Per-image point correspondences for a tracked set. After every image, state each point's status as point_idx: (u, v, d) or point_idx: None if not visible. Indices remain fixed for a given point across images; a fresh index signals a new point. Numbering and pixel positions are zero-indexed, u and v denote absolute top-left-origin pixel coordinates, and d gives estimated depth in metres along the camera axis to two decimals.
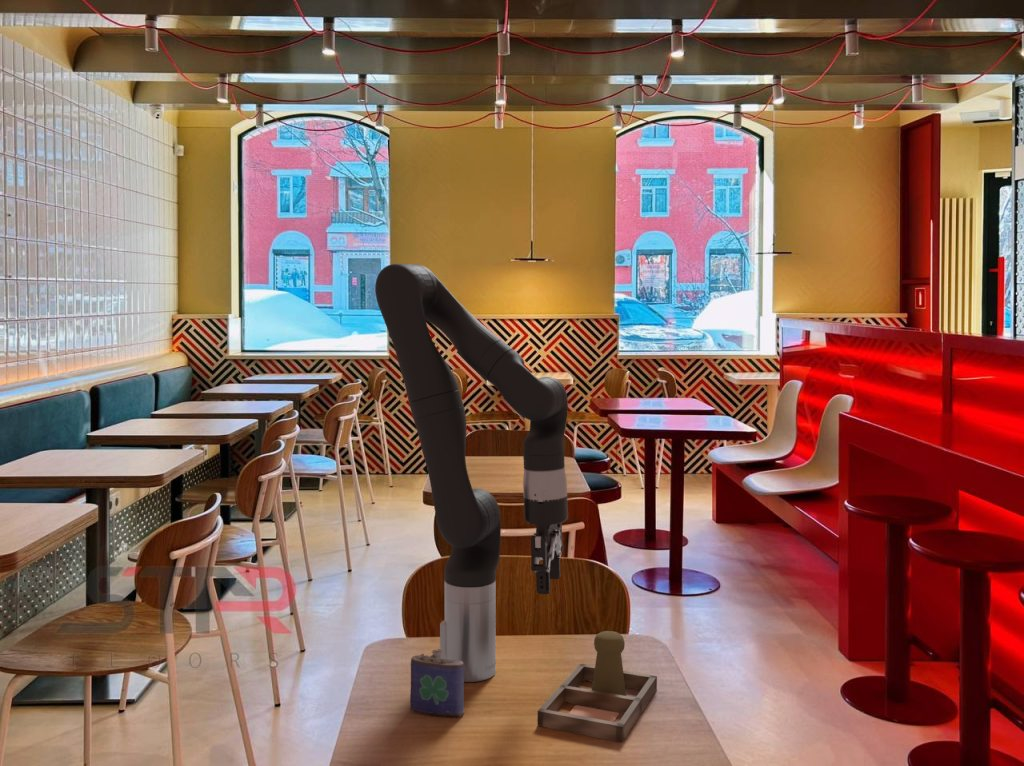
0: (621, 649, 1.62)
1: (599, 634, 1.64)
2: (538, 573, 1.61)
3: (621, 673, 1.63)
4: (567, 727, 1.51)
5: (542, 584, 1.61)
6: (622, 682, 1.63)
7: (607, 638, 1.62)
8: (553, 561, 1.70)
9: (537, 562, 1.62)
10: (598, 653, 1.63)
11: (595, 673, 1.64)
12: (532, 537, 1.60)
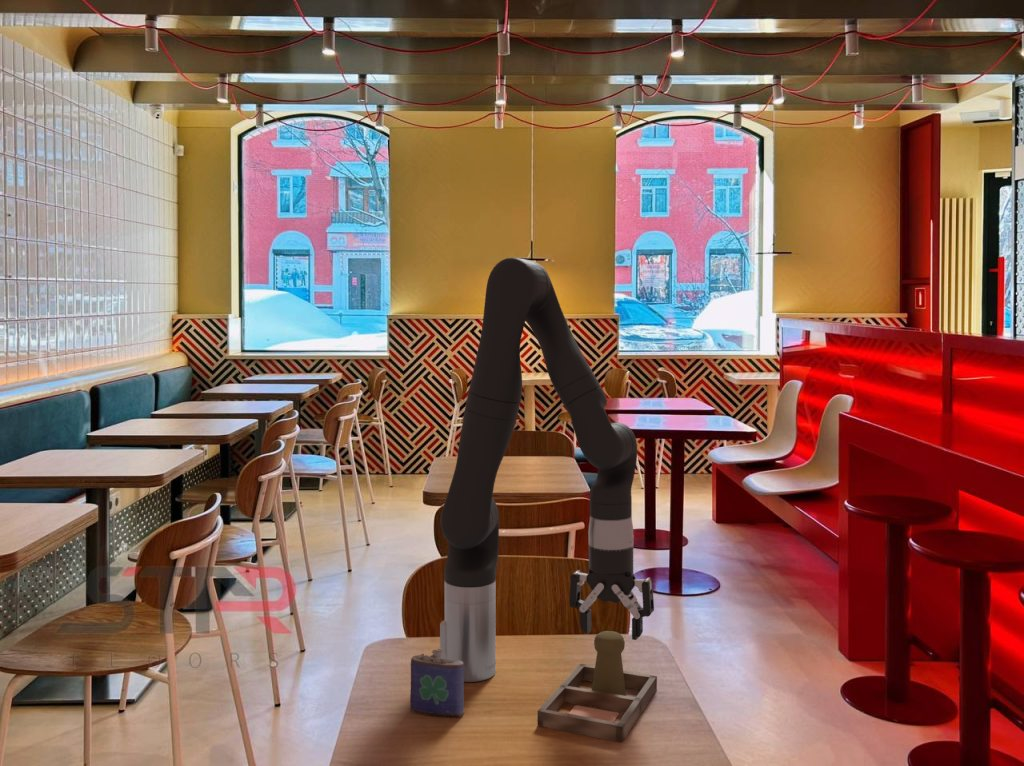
0: (621, 649, 1.62)
1: (599, 634, 1.64)
2: (641, 618, 1.61)
3: (621, 673, 1.63)
4: (567, 727, 1.51)
5: (641, 628, 1.62)
6: (622, 682, 1.63)
7: (607, 638, 1.62)
8: (589, 614, 1.65)
9: (636, 608, 1.61)
10: (598, 653, 1.63)
11: (595, 673, 1.64)
12: (647, 582, 1.59)
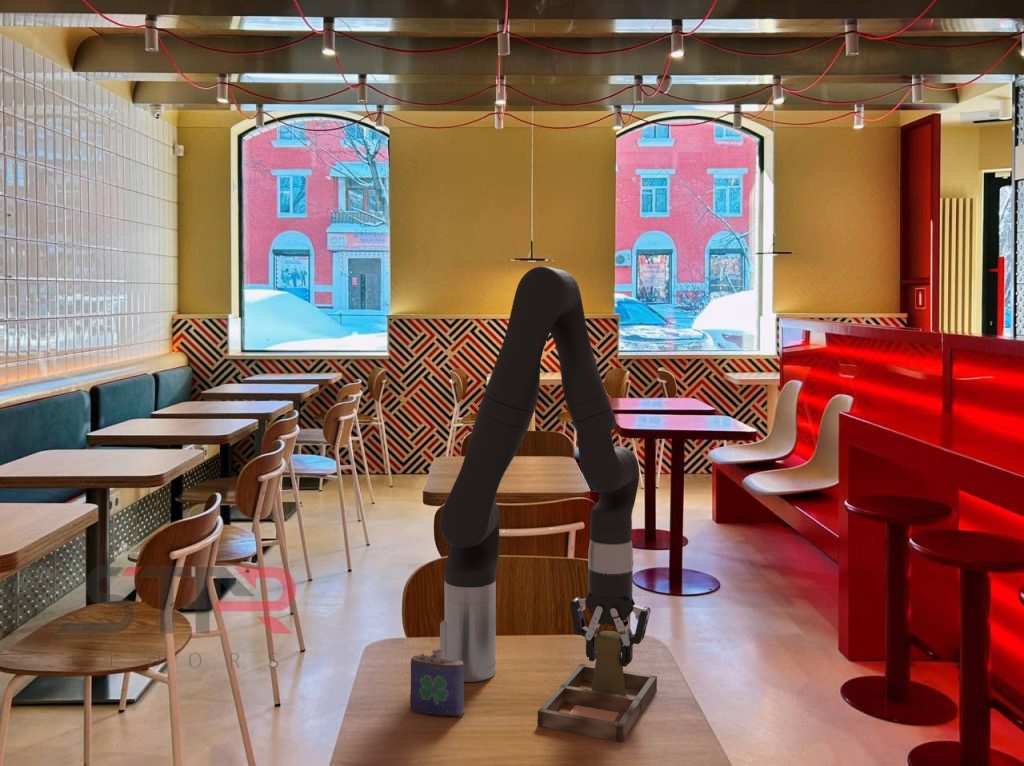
0: (621, 649, 1.62)
1: (599, 634, 1.64)
2: (631, 645, 1.62)
3: (621, 673, 1.63)
4: (567, 727, 1.51)
5: (631, 655, 1.62)
6: (622, 682, 1.63)
7: (607, 638, 1.62)
8: None
9: (628, 636, 1.61)
10: (598, 653, 1.63)
11: (595, 673, 1.64)
12: (646, 612, 1.60)
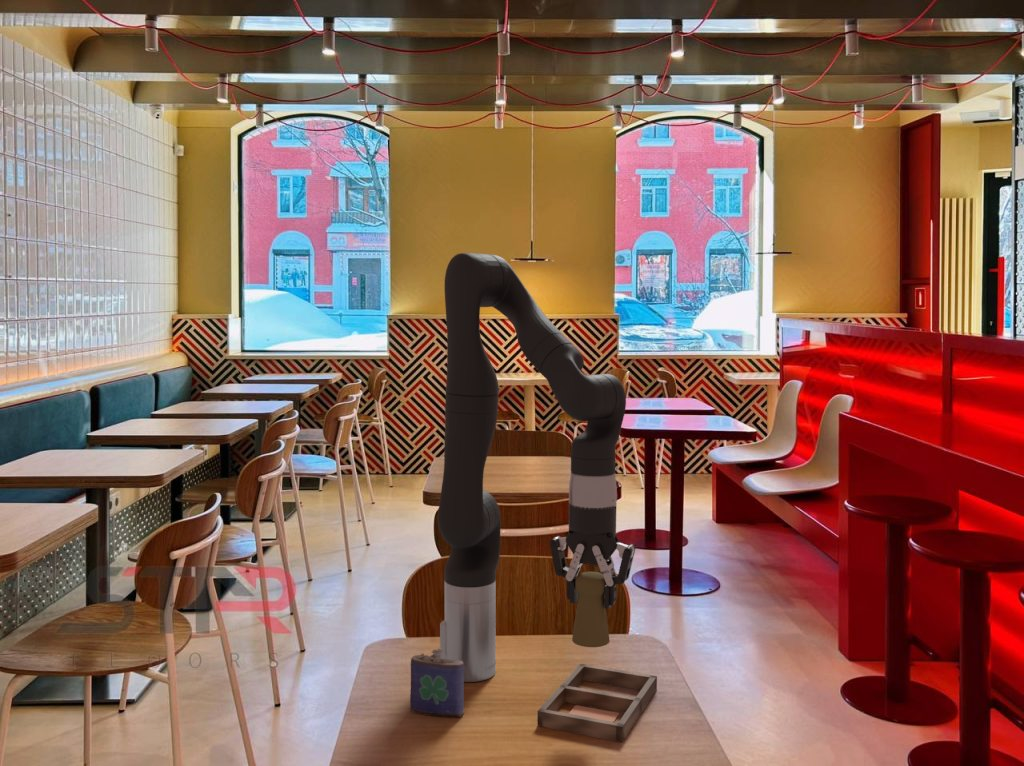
0: (604, 590, 1.52)
1: (581, 574, 1.53)
2: (615, 585, 1.51)
3: (604, 615, 1.52)
4: (567, 727, 1.51)
5: (615, 596, 1.52)
6: (605, 625, 1.53)
7: (589, 578, 1.51)
8: None
9: (611, 575, 1.51)
10: (579, 595, 1.53)
11: (576, 616, 1.53)
12: (631, 549, 1.49)
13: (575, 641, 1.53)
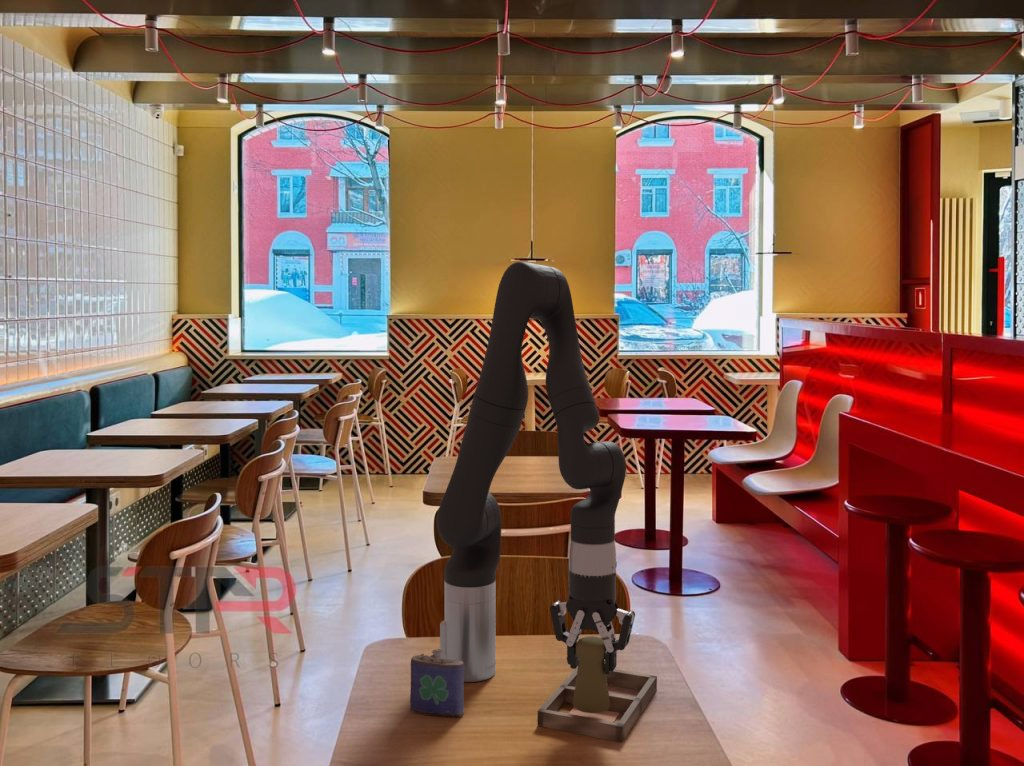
0: (604, 655, 1.53)
1: (581, 640, 1.54)
2: (615, 651, 1.52)
3: (604, 681, 1.54)
4: (567, 727, 1.51)
5: (615, 662, 1.53)
6: (606, 690, 1.54)
7: (589, 644, 1.53)
8: None
9: (611, 641, 1.52)
10: (580, 660, 1.54)
11: (577, 681, 1.54)
12: (630, 616, 1.50)
13: (576, 706, 1.54)
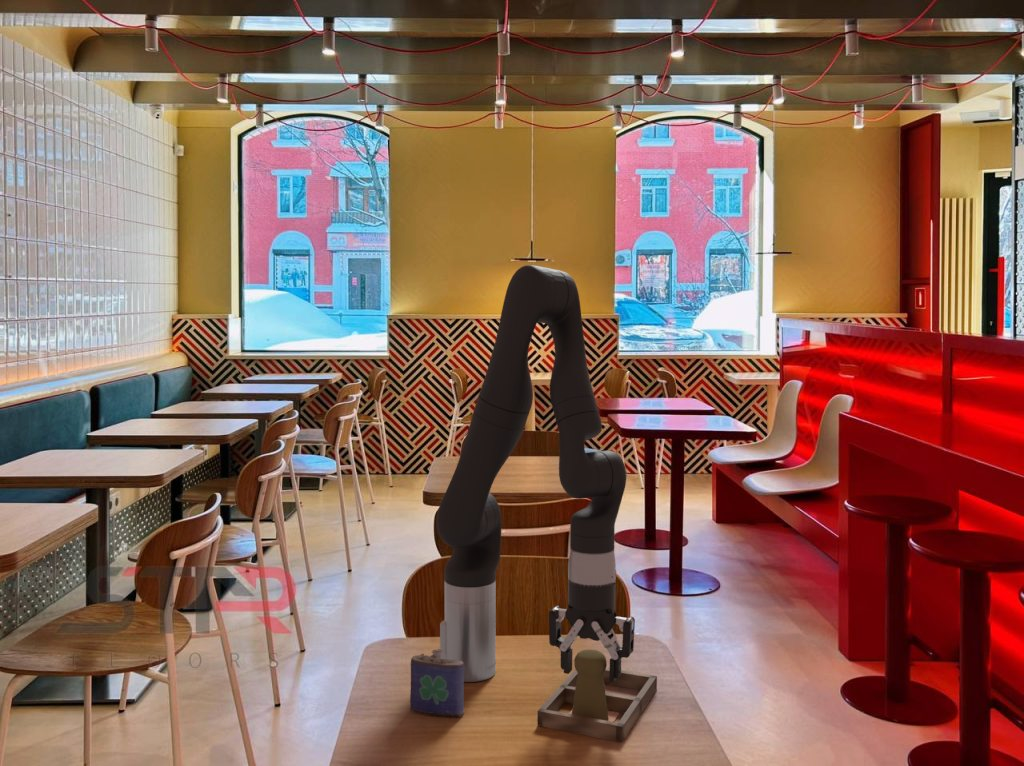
0: (603, 669, 1.53)
1: (580, 653, 1.54)
2: (619, 659, 1.52)
3: (603, 694, 1.54)
4: (567, 727, 1.51)
5: (619, 669, 1.53)
6: (604, 704, 1.54)
7: (588, 657, 1.53)
8: (570, 653, 1.56)
9: (615, 648, 1.52)
10: (578, 673, 1.54)
11: (575, 694, 1.54)
12: (630, 622, 1.50)
13: None
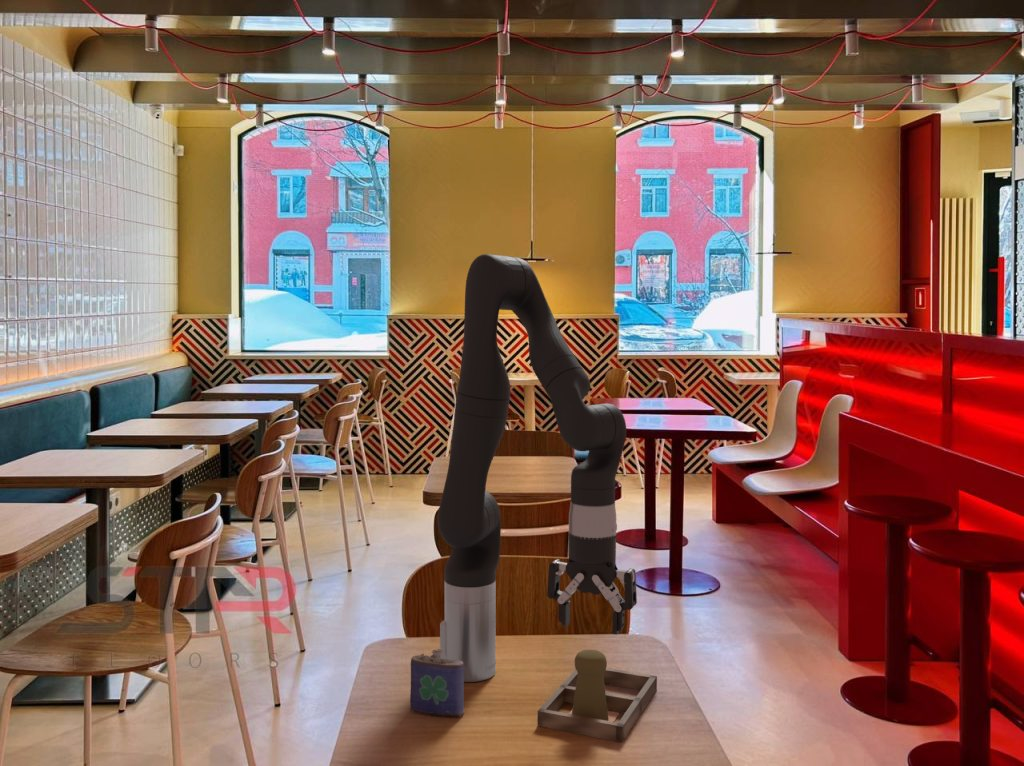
0: (603, 669, 1.53)
1: (580, 653, 1.55)
2: (623, 611, 1.51)
3: (603, 694, 1.54)
4: (567, 727, 1.51)
5: (623, 622, 1.52)
6: (604, 704, 1.54)
7: (588, 657, 1.53)
8: (568, 605, 1.55)
9: (618, 601, 1.51)
10: (579, 673, 1.54)
11: (575, 694, 1.54)
12: (630, 573, 1.49)
13: None
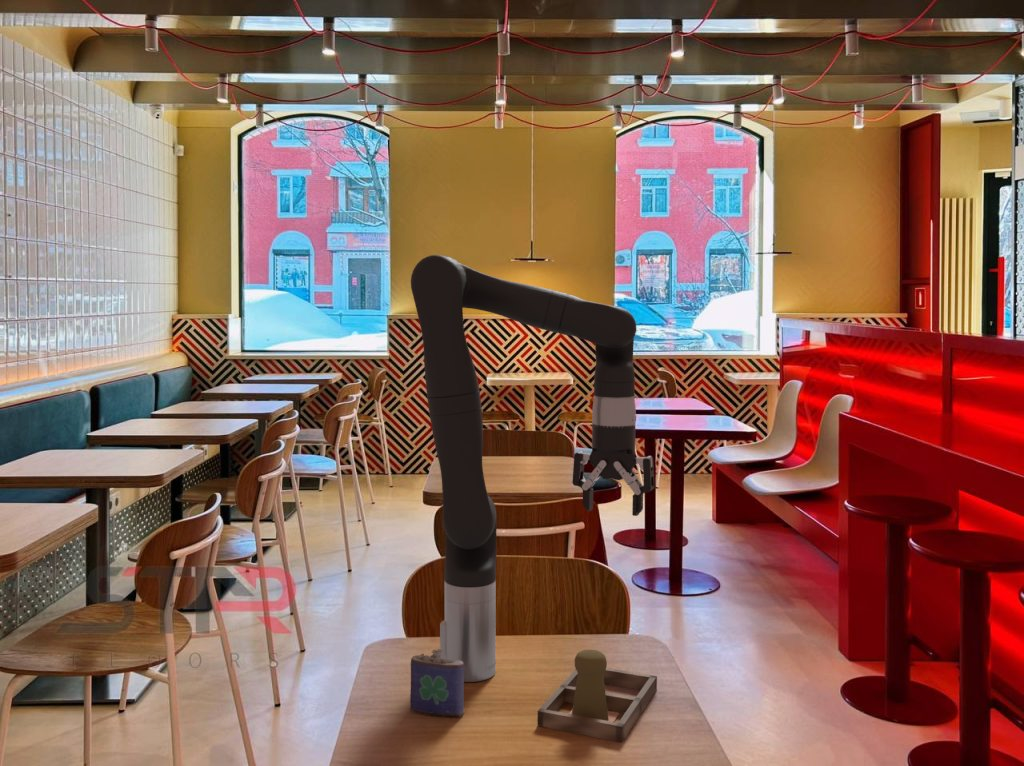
0: (603, 669, 1.53)
1: (580, 653, 1.55)
2: (642, 494, 1.66)
3: (603, 694, 1.54)
4: (567, 727, 1.51)
5: (641, 504, 1.67)
6: (604, 704, 1.54)
7: (588, 657, 1.53)
8: (591, 492, 1.71)
9: (637, 485, 1.66)
10: (579, 673, 1.54)
11: (575, 694, 1.54)
12: (648, 459, 1.65)
13: None
